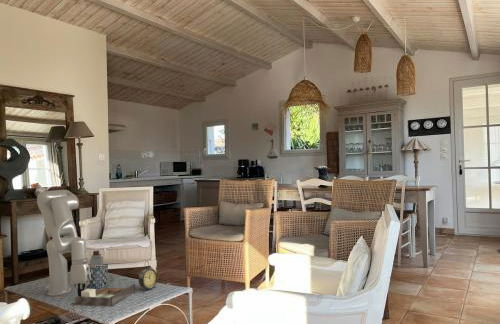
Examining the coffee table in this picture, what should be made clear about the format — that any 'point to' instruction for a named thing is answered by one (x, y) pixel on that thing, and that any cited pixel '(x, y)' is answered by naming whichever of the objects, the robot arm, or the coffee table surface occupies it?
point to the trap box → (106, 296)
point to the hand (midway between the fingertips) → (81, 295)
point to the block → (88, 293)
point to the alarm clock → (147, 278)
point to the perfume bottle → (96, 259)
